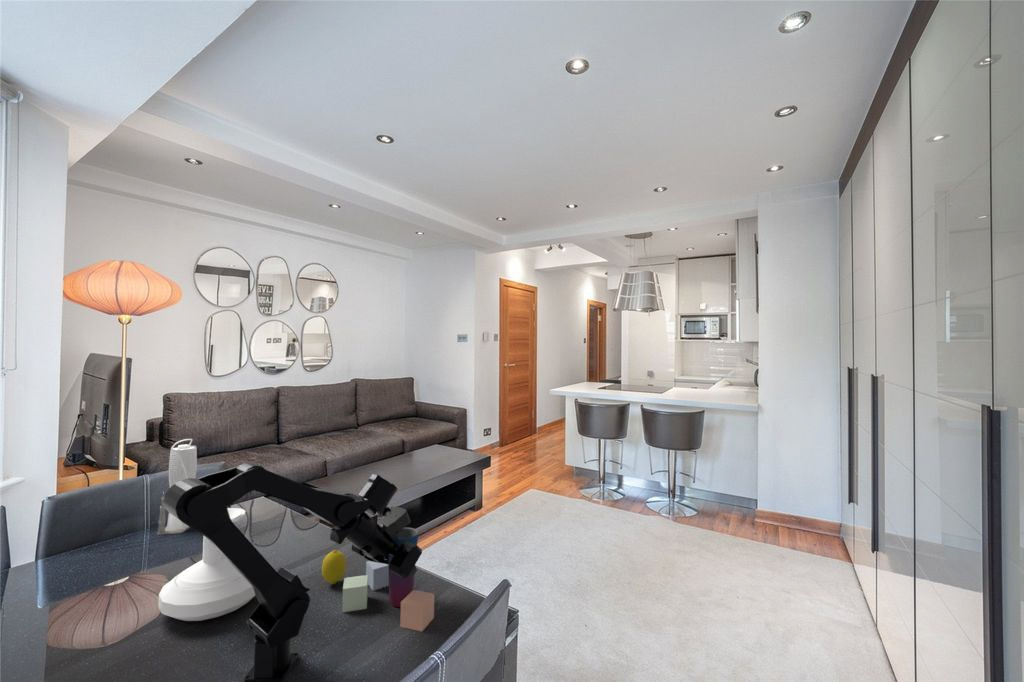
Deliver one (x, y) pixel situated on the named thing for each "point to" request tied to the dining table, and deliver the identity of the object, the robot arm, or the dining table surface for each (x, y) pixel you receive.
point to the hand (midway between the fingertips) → (406, 567)
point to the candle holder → (206, 586)
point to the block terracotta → (417, 610)
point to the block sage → (355, 593)
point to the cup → (397, 584)
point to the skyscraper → (179, 469)
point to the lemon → (334, 566)
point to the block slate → (377, 575)
